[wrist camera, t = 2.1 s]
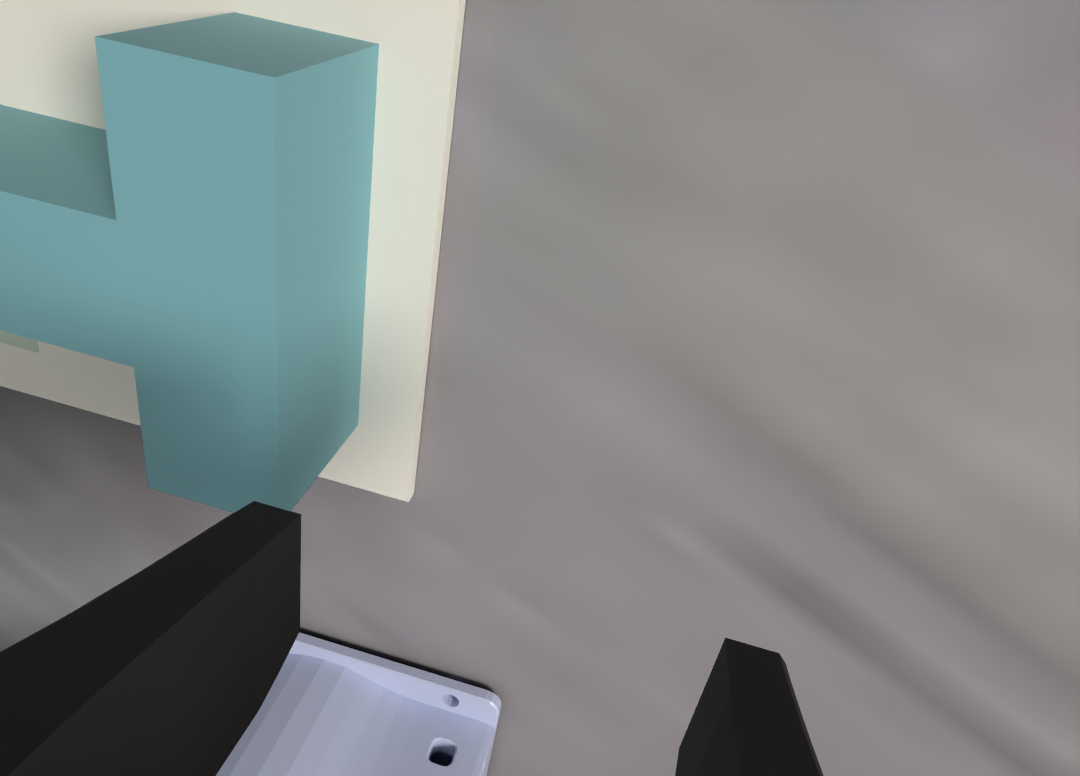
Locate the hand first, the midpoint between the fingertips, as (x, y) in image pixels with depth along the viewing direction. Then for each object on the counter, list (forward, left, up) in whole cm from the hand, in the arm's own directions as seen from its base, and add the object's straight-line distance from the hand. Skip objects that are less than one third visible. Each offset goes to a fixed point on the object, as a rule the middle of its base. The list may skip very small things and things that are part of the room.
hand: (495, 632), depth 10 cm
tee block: (+10, 0, -9) cm, 13 cm away
